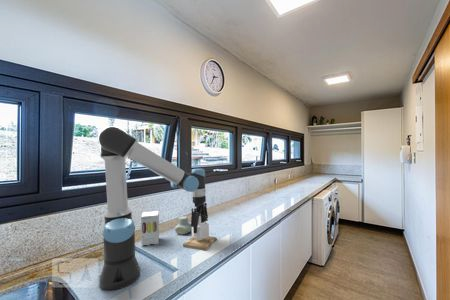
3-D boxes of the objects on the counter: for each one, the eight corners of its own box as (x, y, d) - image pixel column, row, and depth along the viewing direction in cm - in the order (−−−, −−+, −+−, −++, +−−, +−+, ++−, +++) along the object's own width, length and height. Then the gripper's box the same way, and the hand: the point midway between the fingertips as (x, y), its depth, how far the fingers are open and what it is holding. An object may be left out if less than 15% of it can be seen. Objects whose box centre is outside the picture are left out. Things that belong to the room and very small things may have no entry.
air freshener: (193, 231, 134) (193, 216, 135) (188, 236, 126) (188, 220, 127) (179, 229, 137) (178, 215, 137) (172, 234, 129) (172, 219, 130)
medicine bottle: (200, 233, 121) (200, 212, 121) (209, 235, 116) (208, 215, 117) (191, 237, 115) (190, 216, 116) (200, 240, 111) (199, 218, 111)
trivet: (205, 250, 107) (205, 247, 107) (183, 246, 112) (183, 243, 112) (216, 239, 120) (216, 236, 120) (195, 236, 125) (195, 233, 125)
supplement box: (140, 246, 114) (140, 216, 114) (142, 240, 122) (142, 212, 123) (158, 244, 116) (158, 214, 116) (159, 237, 125) (158, 210, 125)
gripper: (195, 200, 105) (196, 244, 105) (212, 192, 125) (214, 229, 124) (183, 199, 108) (184, 242, 108) (202, 191, 127) (203, 227, 127)
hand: (200, 235), depth 116 cm, fingers closed on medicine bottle, 8 cm apart
